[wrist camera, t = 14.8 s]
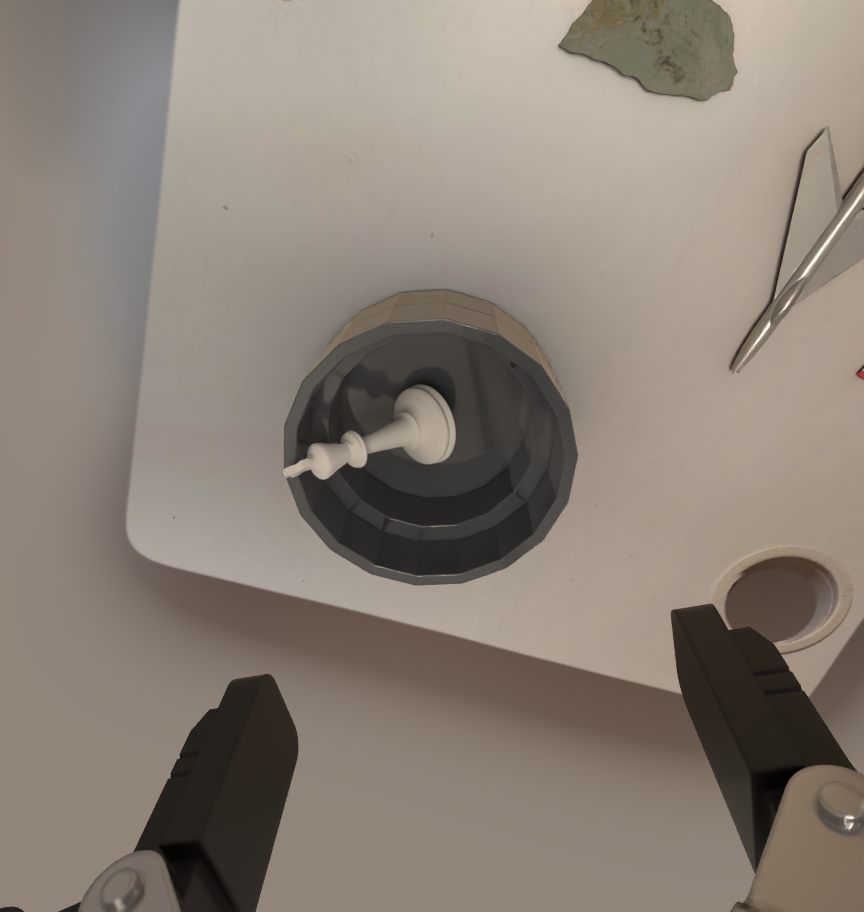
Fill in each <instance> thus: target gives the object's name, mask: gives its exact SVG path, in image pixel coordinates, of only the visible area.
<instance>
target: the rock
mask: <svg viewBox="0 0 864 912" xmlns="http://www.w3.org/2000/svg"><path fill="white" fill-rule="evenodd" d="M559 47H561V48H564V49H566V50H567V51H568V52H570V53H580V54H586V55H588V56H590V57H591V58H592V59H594V60H600V61H604V62H606V63H608V64H610V65H613V66H614V67H615V68H617V69H618V70H619V71H620V72H621V73H622V74H623V75H625V76H634V77H636V78H638V79H639V80H640V82H641V83H642V84H643V85H644V87H645V88H646V89H647V90H649V91H653V92H657V93H659V94H671V95H685V96H690V97H694V98H696V99H698V100H702V101H707V100H708V99H710V98H711V97H712V96H713V95H715V94H717V93H718V92H721V91H728V90H730V89H731V87H732V85H733V79H734V76H735V75H736V74H737V69H736V67H735V65H734V59H733V51H734V33H733V27H732V23H731V18H730V16H729V15H728V13H726V12H724V11H723V9H722V8H721V7H720V6H719V5H717V4H716V3H715V2H713V1H712V0H593V1H592V2H591V3H590V4H589V5H588V7H587V9H586V10H585V12H584V13H583V15H581V16H580V17H579V18H578V19H577V20H576V21H575V22H574V23H573V24H572V27H571V29H570V31H569V32H568V33H567V35H566V36H565V38H564V39H563V40H562V42H561V43H560V44H559Z"/></svg>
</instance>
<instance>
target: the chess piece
mask: <svg viewBox="0 0 864 912" xmlns="http://www.w3.org/2000/svg"><path fill="white" fill-rule="evenodd" d="M393 420H394V422H392V423H390V424H388V425H386V426H384V427H382V428H380V429H378V430H376V431H374V432H372V433H370V434H368V435H366V436H364V437H362V438H361V436H360V435H359V434H358V433H356V432H355V431H347V432H346V433H345V434H344V435H343V436H342V438H341V444H337V443H333V444H326V443H314V444H311V445H310V446H309V448H308V451H307V459H304V460H301V461H299V462H298V463H297V464H295V465H292V466H290V467H287V468H285V469H283V470H282V471H283V473H284V476H285V478H287V477H290V476H291V478H293V477H296V476H298V475H300V474H301V473H302V472H304V471H307V470H310V469H311V471H312V472H313V474H314V475H315V476H316V477H318V478H319V479H322V480H324V479H327V478H329V477H330V476H332V475H333V474H334V473H335V472H336V471H337V470H338V469H339V468H341V467H342V466H344V465H345V464H346V463H348V464H349V465H351V466H352V467H355V468H357V467H358V468H360V467H363V466H364V465H365V464H366V461H367V454H370V453H374V452H378V451H382V450H387V449H392V448H397V447H403V448H404V450H405V451H406V452H407V453H408V454H409V455H410V456H411V457H412V458H413V459H414V460H416V461H418V462H420V463H423V464H434V463H439V462H442V461H444V460H446V459H447V458H448V457H449V456H450V454H451V453H452V451H453V448H454V445H455V439H456V429H455V423H454V419H453V415H452V413H451V410H450V408H449V406H448V404H447V403H446V401H445V400H444V398H443V397H442V396H441V395H440V394H439V393H438V392H437V391H436V390H434V389H433V388H431V387H429V386H427V385H422V384H418V385H414V386H412V387H410V388H408V389H406V390H404V391H403V392H402V393H401V394H400V395H399V396H398V398H397V400H396V402H395V406H394V412H393Z"/></svg>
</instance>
